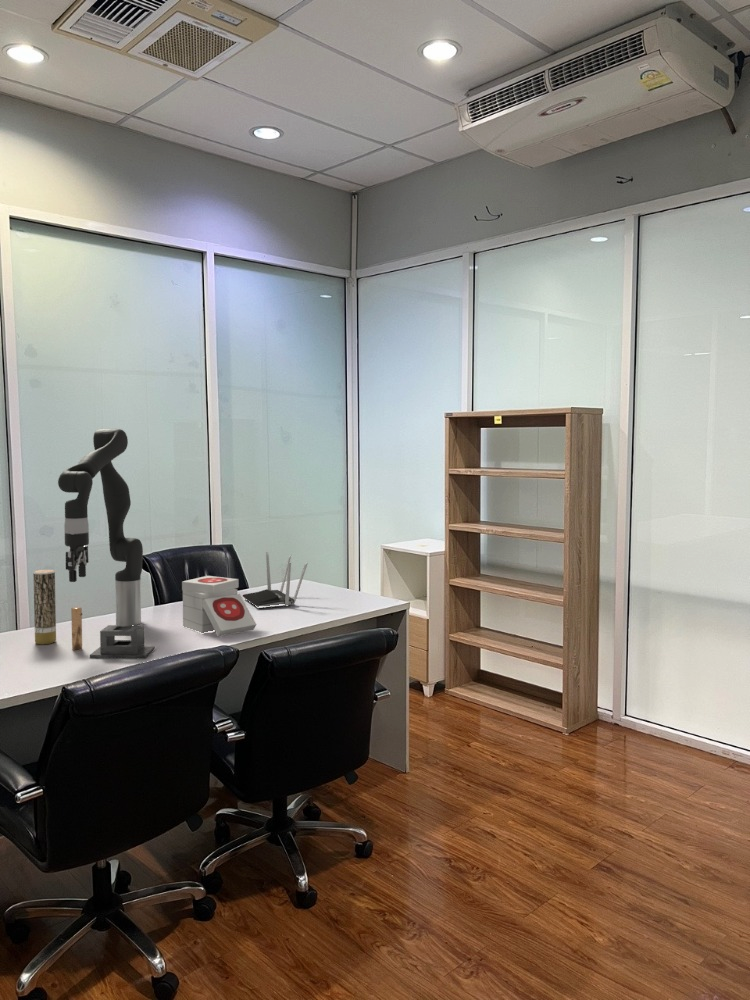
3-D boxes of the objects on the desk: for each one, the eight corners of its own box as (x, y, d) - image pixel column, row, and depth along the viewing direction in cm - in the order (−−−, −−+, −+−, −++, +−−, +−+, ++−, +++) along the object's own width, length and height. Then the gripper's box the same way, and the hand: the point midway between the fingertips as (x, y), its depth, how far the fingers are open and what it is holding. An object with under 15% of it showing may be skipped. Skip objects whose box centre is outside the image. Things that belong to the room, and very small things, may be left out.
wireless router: (238, 597, 347) (238, 553, 345) (287, 593, 357) (287, 551, 355) (259, 612, 316) (259, 564, 315) (312, 608, 326) (312, 561, 325)
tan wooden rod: (70, 650, 257) (69, 609, 256) (74, 647, 260) (73, 607, 259) (80, 650, 257) (80, 609, 256) (84, 647, 260) (83, 607, 259)
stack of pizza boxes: (216, 642, 269) (216, 591, 268) (175, 626, 291) (175, 579, 290) (262, 633, 282) (262, 585, 280) (219, 619, 304) (219, 574, 303)
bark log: (50, 638, 271) (48, 569, 269) (59, 642, 267) (58, 571, 265) (31, 642, 266) (29, 571, 264) (40, 646, 261) (39, 573, 260)
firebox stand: (101, 648, 259) (101, 624, 258) (154, 649, 259) (154, 624, 258) (89, 658, 248) (89, 632, 247) (145, 658, 248) (145, 632, 247)
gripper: (73, 528, 262) (74, 575, 263) (56, 533, 248) (58, 583, 249) (95, 528, 262) (96, 575, 264) (80, 534, 248) (81, 583, 249)
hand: (77, 579), depth 256 cm, fingers open, 8 cm apart
